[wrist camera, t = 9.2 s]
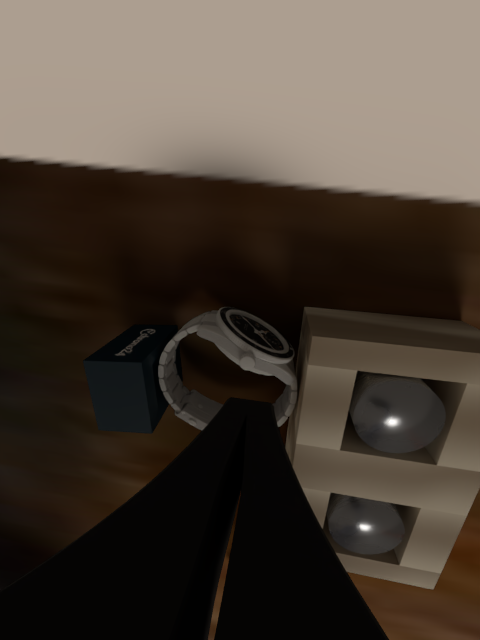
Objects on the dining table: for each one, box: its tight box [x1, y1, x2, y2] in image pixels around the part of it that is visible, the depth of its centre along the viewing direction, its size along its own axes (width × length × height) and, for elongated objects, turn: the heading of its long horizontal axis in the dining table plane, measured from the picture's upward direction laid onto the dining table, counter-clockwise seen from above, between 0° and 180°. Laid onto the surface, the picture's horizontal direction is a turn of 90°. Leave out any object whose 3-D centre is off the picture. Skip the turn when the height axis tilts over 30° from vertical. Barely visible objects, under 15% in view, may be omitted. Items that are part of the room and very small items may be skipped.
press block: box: [285, 307, 480, 589], centre depth 16 cm, size 15×9×5 cm, turn 177°
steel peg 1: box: [349, 371, 446, 453], centre depth 15 cm, size 4×4×5 cm
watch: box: [83, 307, 297, 433], centre depth 16 cm, size 6×8×11 cm
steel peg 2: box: [326, 493, 405, 555], centre depth 17 cm, size 4×4×5 cm
